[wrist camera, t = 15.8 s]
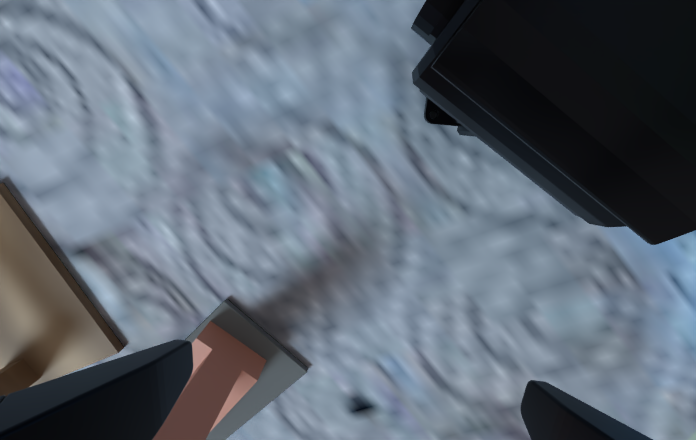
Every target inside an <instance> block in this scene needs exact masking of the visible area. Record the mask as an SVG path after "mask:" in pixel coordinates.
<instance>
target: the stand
mask: <svg viewBox="0 0 696 440" xmlns="http://www.w3.org/2000/svg"><path fill="white" fill-rule="evenodd" d="M123 348H124V347H123V346H122V344H121V343H120V341H119V340H118V339H117V337H116V336H115V335H114V333H113V332H112V331H111V329H110V328H109V326H108V325H107V324H106V322H105V321H104V320H103V318H102V317H101V316H100V314H99V313H98V311H97V310H96V309H95V307H94V306H93V305H92V303H91V302H90V301H89V299H88V298H87V296H86V295H85V294H84V292H83V291H82V290H81V288H80V287H79V286H78V284H77V283H76V281H75V280H74V279H73V277H72V276H71V275H70V273H69V272H68V271H67V269H66V268H65V266H64V265H63V264H62V262H61V261H60V260H59V258H58V257H57V256H56V254H55V253H54V252H53V250H52V249H51V247H50V246H49V245H48V243H47V242H46V241H45V239H44V238H43V237H42V235H41V234H40V232H39V231H38V230H37V228H36V227H35V226H34V224H33V223H32V222H31V220H30V219H29V217H28V216H27V215H26V213H25V212H24V211H23V209H22V208H21V207H20V205H19V204H18V202H17V201H16V200H15V198H14V197H13V196H12V194H11V193H10V192H9V190H8V189H7V187H6V186H5V185H4V183H0V396H2V395H5V396H7V395H8V394H10V393H13V392H16V391H19V390H22V389H25V388H28V387H31V386H34V385H37V384H41V383H44V382H47V381H50V380H53V379H56V378H58V377H61V376H63V375H66V374H68V373H70V372H73V371H75V370H78V369H80V368H83V367H85V366H88V365H90V364H92V363H95V362H97V361H100V360H102V359H105V358H107V357H110V356H112V355H114V354H117V353H119V352H120V351H121V350H122V349H123Z"/></svg>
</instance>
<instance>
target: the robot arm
mask: <svg viewBox="0 0 696 440" xmlns="http://www.w3.org/2000/svg"><path fill="white" fill-rule="evenodd" d="M411 29H412V30H413V31H415V32H416V33H417V34H418V35H419V36H421V37H422V38H423V39H424V40H426V41H427V42H428V43H429V44H430V45H431V47H430V48H429V50H428V51H427V52H426V54H425V55H424V56H423V58H422V59H421V61H420V62H419V63H418V65H417V66H416V68H415V69H414V70H413V72H412V78H413V84H414V85H415V86H417V87H418V88H419V89H420V92H421V93H422V94H423V95H425V96H426V104H425V111H424V118H425V120H426V121H427V122H428V123H431V124H440V125H451V126H458V128H457V131H458V133H459V134H460V135H466V136H476V137H477V138H479V139H480V140H481V141H483V142H484V143H485V144H486V145H488V146H489V147H490V148H491V149H493V150H494V151H495V152H496V153H498V154H499V155H500V156H501V157H503V158H504V159H505V160H506V161H508V162H509V163H510V164H511V165H513V166H514V167H515V168H516V169H518V170H519V171H520V172H522V173H523V174H524V175H525V176H527V177H528V178H529V179H530V180H532V181H533V182H534V183H535V184H537V185H538V186H539V187H540V188H542V189H543V190H544V191H545V192H547V193H548V194H549V195H550V196H552V197H553V198H554V199H555V200H557V201H558V202H559V203H560V204H562V205H563V206H564V207H566V208H567V209H568V210H569V211H571V212H572V213H573V214H574V215H576V216H579V217H581V218H582V219H584V220H585V221H586V222H587V223H589V224H593V225H599V226H604V227H622V226H627V227H629V228H630V229H631V230H632V231H634V232H635V233H636V234H637V235H638V236H640V237H641V238H642V239H643V240H645V241H646V242H647V243H649V244H651V245H656V244H659V243H662V242H665V241H668V240H670V239H673V238H676V237H678V236H681V235H684V234H687V233H689V232H692V231H695V230H696V0H426V2H425V4H424V5H423V7H422V9H421V10H420V12H419V14H418V16H417V17H416V19H415V21H414V23H413V25H412V27H411ZM432 110H435V111H436V112H437V117H436V118H435V119H431V118H430V112H431V111H432ZM192 372H193V350H192V343H191V342H190V341H186V340H173V341H170V342H167V343H164V344H160V345H157V346H154V347H151V348H148V349H145V350H142V351H139V352H136V353H133V354H130V355H127V356H124V357H120V358H117V359H114V360H111V361H108V362H105V363H102V364H99V365H96V366H93V367H90V368H87V369H84V370H81V371H77V372H74V373H71V374H68V375H65V376H62V377H59V378H56V379H53V380H50V381H47V382H44V383H41V384H37V385H34V386H31V387H28V388H25V389H22V390H19V391H16V392H13V393H10V394H8V395H7V396H5V395H2V396H0V440H152V439H153V438H154V437H155V435H156V434H157V432H158V431H159V429H160V428H161V427H162V425H163V423H164V422H165V420H166V419H167V417H168V415H169V413H170V412H171V410H172V408H173V407H174V405H175V403H176V401H177V400H178V398H179V396H180V394H181V393H182V391H183V389H184V388H185V386H186V384H187V382H188V381H189V379H190V377H191V375H192ZM521 414H522V418H523V420H524V423H525V425H526V428H527V430H528V433H529V435H530V438H531V440H653V439H651V438H649V437H647V436H645V435H643V434H641V433H640V432H638V431H636V430H634V429H632V428H630V427H628V426H627V425H625V424H623V423H621V422H619V421H617V420H616V419H614V418H612V417H610V416H608V415H606V414H604V413H603V412H601V411H599V410H597V409H595V408H593V407H591V406H590V405H588V404H586V403H584V402H582V401H580V400H578V399H577V398H575V397H573V396H571V395H569V394H567V393H565V392H564V391H562V390H560V389H558V388H556V387H554V386H552V385H551V384H549V383H547V382H543V381H535V380H531V381H529V382H528V383H527V386H526V389H525V393H524V396H523V399H522V403H521Z"/></svg>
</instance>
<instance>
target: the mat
mask: <svg viewBox="0 0 696 440" xmlns="http://www.w3.org/2000/svg"><path fill="white" fill-rule="evenodd" d="M210 321H211V322H213V323H214V324H216V325H217V326H219V327H220V328H221V329H223V330H224V331H226V332H227V333H229V334H230V335H231V336H233V337H234V338H236V339H237V340H238V341H240V342H241V343H243V344H244V345H246V346H247V347H248V348H250V349H251V350H253V351H254V352H255V353H257V354H258V355H260V356H261V357H263V358H264V359H265V360H266V363H265V365H264V367H263V370H262V372H261V374H260V376H259V379H258V381H257V382H256V383H255V384H254V385H253V386H252V387H251V388H250V389H249V390H248V392H247V393H246V394H245V395H244V396H243V397H242V398H241V399H240V400H239V401H238V402H237V403H236V405H235V406H234V407H233V408H232V409H231V410H230V411H229V412H228V413H227V414H226V415H225V416H224V417H223V419H222V420H221V421H220V422H219V423H218V424H217V425H216V426H215V427H214V428H213V429H212V430H211V431H210V433H209V434H208V436H207V438H206V440H225V439H227V438H228V437H229V436H230V435H231V434H233V433H234V432H235V431H236V430H237V429H239V428H240V427H241V426H242V425H244V424H245V423H246V422H247V421H248V420H250V419H251V418H252V417H253V416H254V415H256V414H257V413H258V412H259V411H261V410H262V409H263V408H264V407H265V406H267V405H268V404H269V403H270V402H271V401H273V400H274V399H275V398H276V397H278V396H279V395H280V394H281V393H282V392H284V391H285V390H286V389H287V388H288V387H290V386H291V385H292V384H293V383H295V382H296V381H297V380H298V379H299V378H301V377H302V376H303V375H304V374H305V373H307V370H308V368H307V367H306V366H305V365H303V364H302V363H301V362H300V361H299V360H298V359H296V358H295V357H294V356H293V355H292V354H291V353H289V352H288V351H287V350H286V349H285V348H284V347H282V346H281V345H280V344H279V343H278V342H277V341H275V340H274V339H273V338H272V337H271V336H270V335H268V334H267V333H266V332H265V331H264V330H263V329H261V328H260V327H259V326H258V325H257V324H256V323H254V322H253V321H252V320H251V319H250V318H249V317H247V316H246V315H245V314H244V313H243V312H242V311H240V310H239V309H238V308H237V307H236V306H235V305H233V304H232V303H231V302H230V301H229V300H227V299H226V300H225V301H224V302H223V303H222V304H221V305H220V306H219V307H218V308H217V309H216V310H215V311H214V312H213V313H212V314H211V315H210V316H209V317H208V318H207V319H206V320H205V321H204V322H203V323H202V324H201V325H200V326H199V327H198V328H197V329H196V330H195V331H194V332H193V333H191V334H190V335H189V336H188V337H187V338H186V339H185V340H186V341H190V342H191V343H193V342H194V340H195V339H196V338H197V337H198V336H199V334H200V333H201V332H202V331H203V329H204V328H205V327H206V326H207V324H208V323H209V322H210Z"/></svg>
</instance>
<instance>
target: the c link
mask: <svg viewBox="0 0 696 440" xmlns="http://www.w3.org/2000/svg"><path fill="white" fill-rule="evenodd" d="M192 350H193V372H192V375H191V377H190V379H189V381H188V382H187V384H186V386H185V388H184V389H183V391H182V393H181V394H180V396H179V398H178V400H177V401H176V403H175V405H174V407H173V408H172V410H171V412H170V413H169V415H168V417H167V419H166V420H165V422H164V423H163V425H162V427H161V428H160V429H159V431H158V432H157V434H156V435H155V437H154V438H153V439H152V440H206V438H207V436H208V434H209V433H210V431H211V430H212V429H213V428H214V427H215V426H216V425H217V424H218V423H219V422H220V421H221V420H222V419H223V417H224V416H225V415H226V414H227V413H228V412H229V411H230V410H231V409H232V408H233V407H234V406H235V405H236V403H237V402H238V401H239V400H240V399H241V398H242V397H243V396H244V395H245V394H246V393H247V392H248V390H249V389H250V388H251V387H252V386H253V385H254V384H255V383H256V382H257V381H258V379H259V376H260V374H261V372H262V370H263V367H264V365H265V363H266V360H265V359H264V358H263V357H261V356H260V355H258V354H257V353H255V352H254V351H253V350H251V349H250V348H248V347H247V346H246V345H244V344H243V343H241V342H240V341H238V340H237V339H236V338H234V337H233V336H231V335H230V334H229V333H227V332H226V331H224V330H223V329H221V328H220V327H219V326H217V325H216V324H214V323H213V322H211V321H210V322H209V323H208V324H207V326H206V327H205V328H204V329H203V331H202V332H201V333H200V334H199V336H198V337H197V338H196V339H195V340H194V342H193V343H192Z"/></svg>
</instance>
